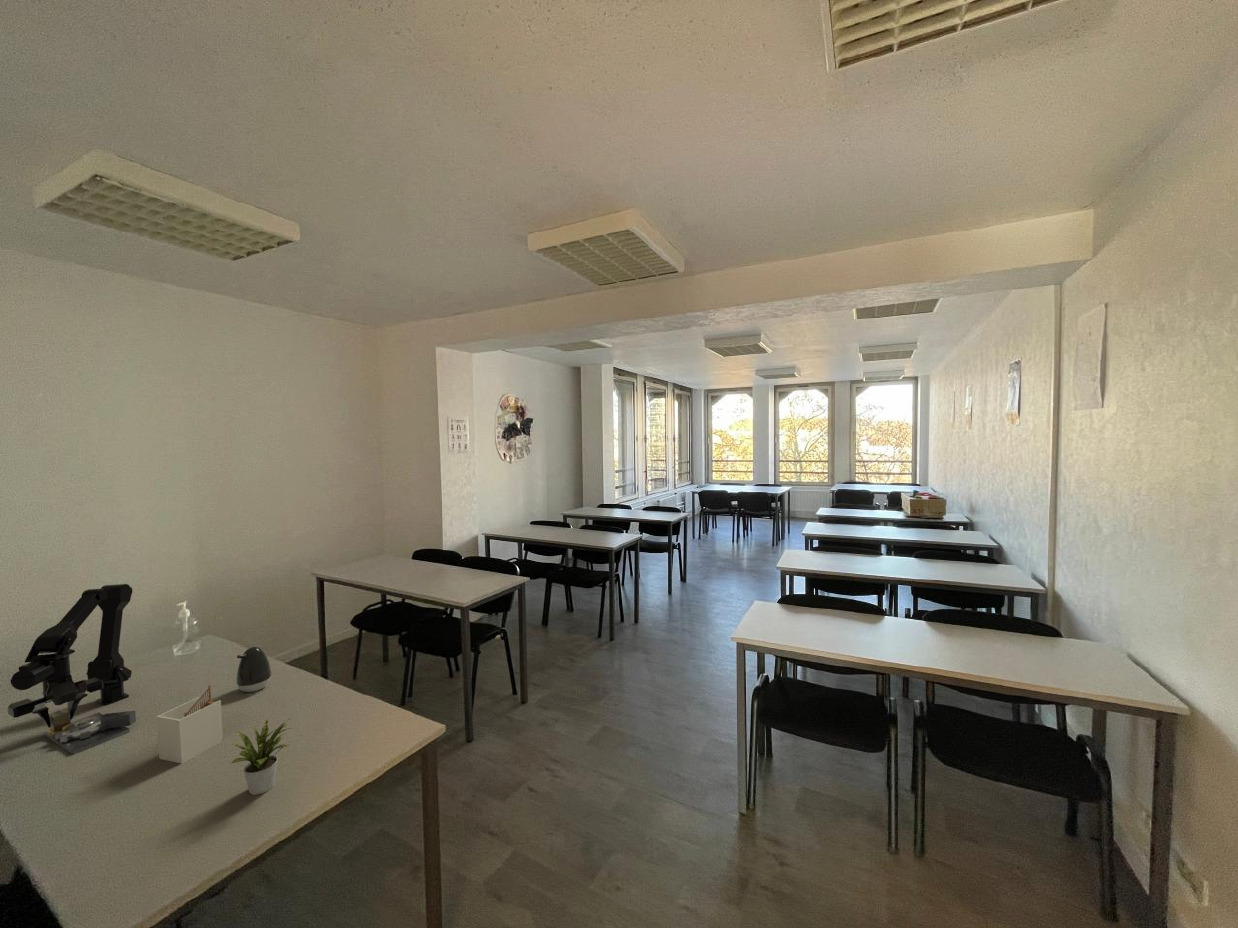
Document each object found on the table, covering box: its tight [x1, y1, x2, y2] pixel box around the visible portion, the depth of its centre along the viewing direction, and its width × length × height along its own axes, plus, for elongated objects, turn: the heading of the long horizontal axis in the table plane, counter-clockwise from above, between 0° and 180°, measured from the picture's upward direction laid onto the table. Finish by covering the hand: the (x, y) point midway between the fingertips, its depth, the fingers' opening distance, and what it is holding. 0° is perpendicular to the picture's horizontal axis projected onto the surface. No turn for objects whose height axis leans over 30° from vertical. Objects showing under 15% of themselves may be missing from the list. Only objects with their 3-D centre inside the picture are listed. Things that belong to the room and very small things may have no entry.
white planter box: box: [156, 684, 224, 764], centre depth 141 cm, size 9×11×17 cm
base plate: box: [43, 712, 130, 755], centre depth 150 cm, size 22×12×1 cm, turn 64°
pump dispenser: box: [235, 646, 273, 693], centre depth 175 cm, size 10×10×15 cm
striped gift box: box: [49, 708, 72, 733], centre depth 150 cm, size 4×4×5 cm
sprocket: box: [55, 710, 137, 742], centre depth 150 cm, size 18×12×4 cm
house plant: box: [229, 717, 293, 796], centre depth 124 cm, size 14×14×16 cm
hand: (60, 723), depth 151 cm, fingers open, 4 cm apart
